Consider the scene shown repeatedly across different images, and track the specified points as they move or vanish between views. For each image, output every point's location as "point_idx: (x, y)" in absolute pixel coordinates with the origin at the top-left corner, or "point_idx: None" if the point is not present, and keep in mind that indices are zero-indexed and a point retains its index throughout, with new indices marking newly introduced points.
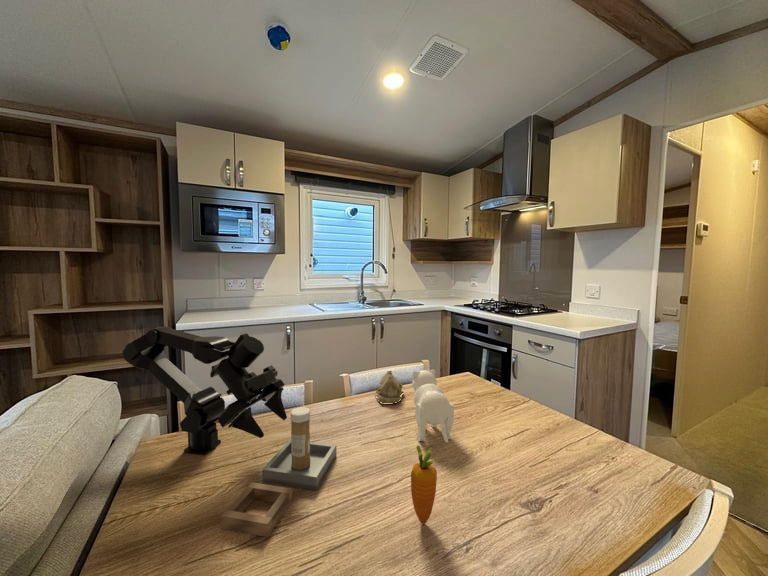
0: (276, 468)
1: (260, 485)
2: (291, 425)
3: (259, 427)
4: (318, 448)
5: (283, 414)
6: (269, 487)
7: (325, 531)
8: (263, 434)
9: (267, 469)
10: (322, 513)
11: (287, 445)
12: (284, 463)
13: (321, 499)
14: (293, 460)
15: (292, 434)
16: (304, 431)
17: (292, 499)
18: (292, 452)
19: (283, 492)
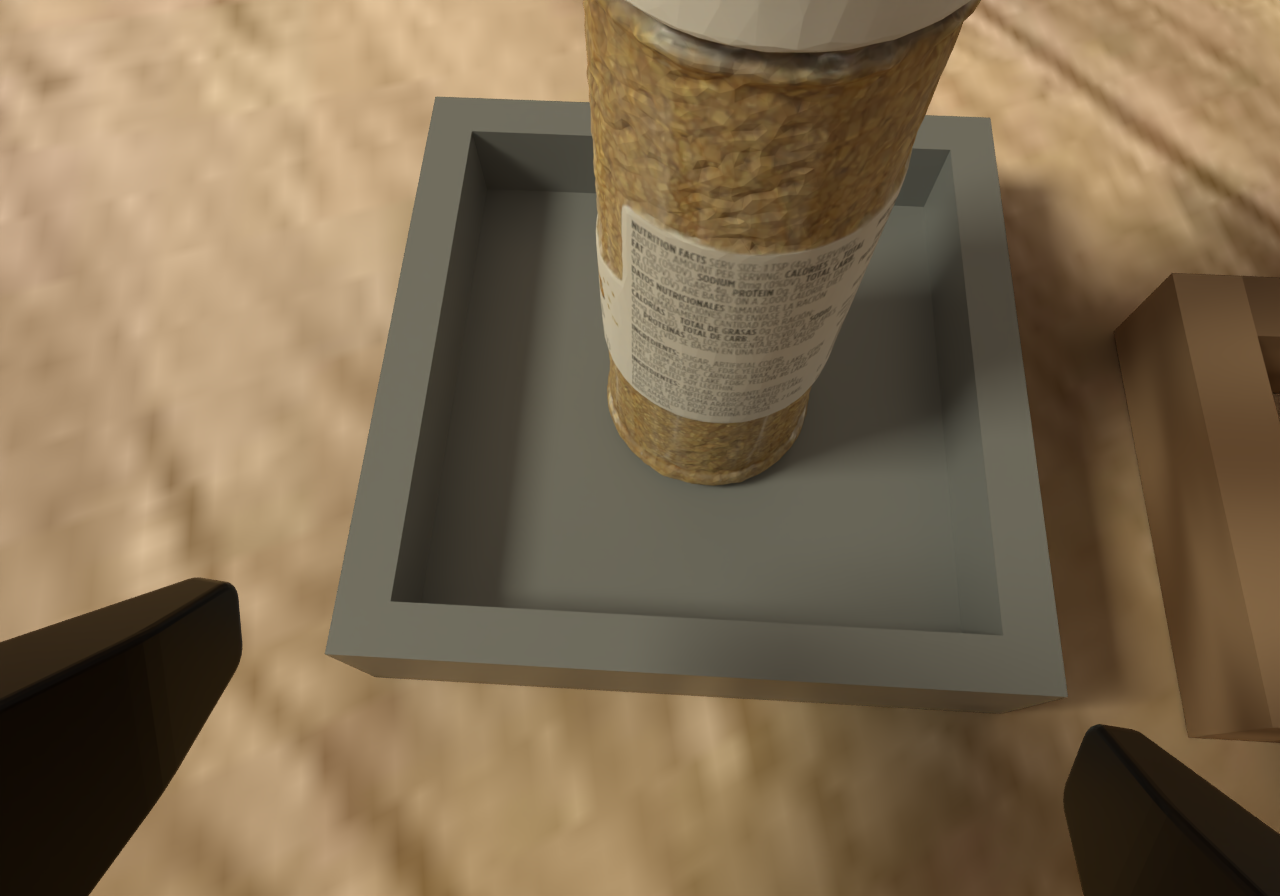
0: (990, 531)
1: (1269, 590)
2: (881, 126)
3: (1250, 862)
4: (456, 282)
5: (166, 645)
6: (1253, 480)
7: (1275, 51)
8: (1119, 734)
9: (1043, 629)
10: (1148, 104)
11: (487, 617)
12: (716, 579)
13: (1026, 145)
14: (803, 402)
15: (891, 199)
16: None
17: (1116, 329)
18: (818, 370)
19: (1250, 326)
